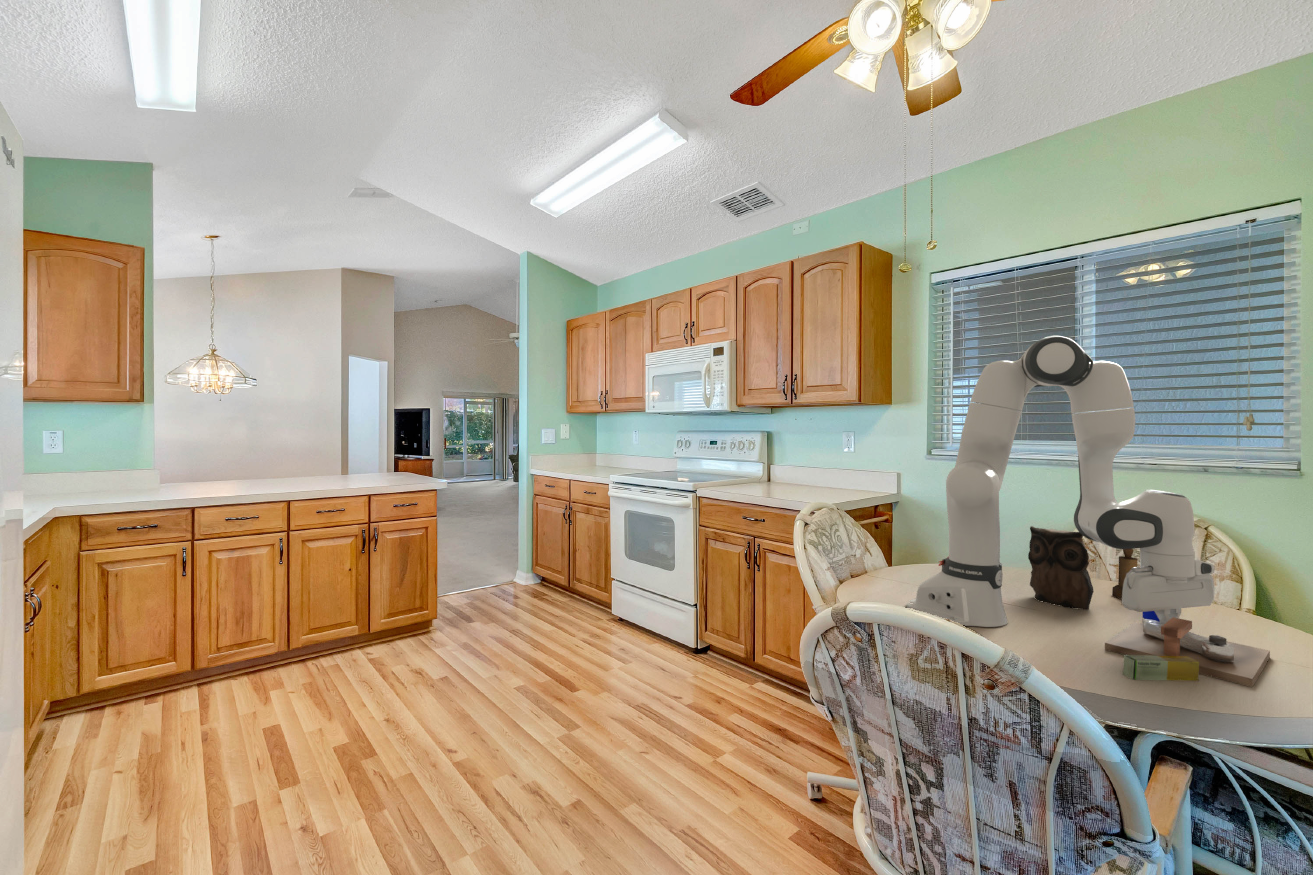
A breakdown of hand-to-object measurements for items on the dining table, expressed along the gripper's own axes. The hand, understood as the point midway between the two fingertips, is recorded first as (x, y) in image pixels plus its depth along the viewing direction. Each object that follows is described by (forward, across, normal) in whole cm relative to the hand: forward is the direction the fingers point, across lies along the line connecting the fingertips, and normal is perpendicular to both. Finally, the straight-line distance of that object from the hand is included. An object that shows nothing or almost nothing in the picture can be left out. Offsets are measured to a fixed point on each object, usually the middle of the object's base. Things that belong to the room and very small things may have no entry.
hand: (1168, 628), depth 121 cm
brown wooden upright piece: (+4, +24, +29) cm, 38 cm away
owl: (+3, +4, +29) cm, 30 cm away
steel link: (+1, -3, -5) cm, 6 cm away
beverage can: (+4, +12, +12) cm, 17 cm away
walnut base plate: (+3, -2, -5) cm, 7 cm away
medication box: (+4, -19, -13) cm, 24 cm away
